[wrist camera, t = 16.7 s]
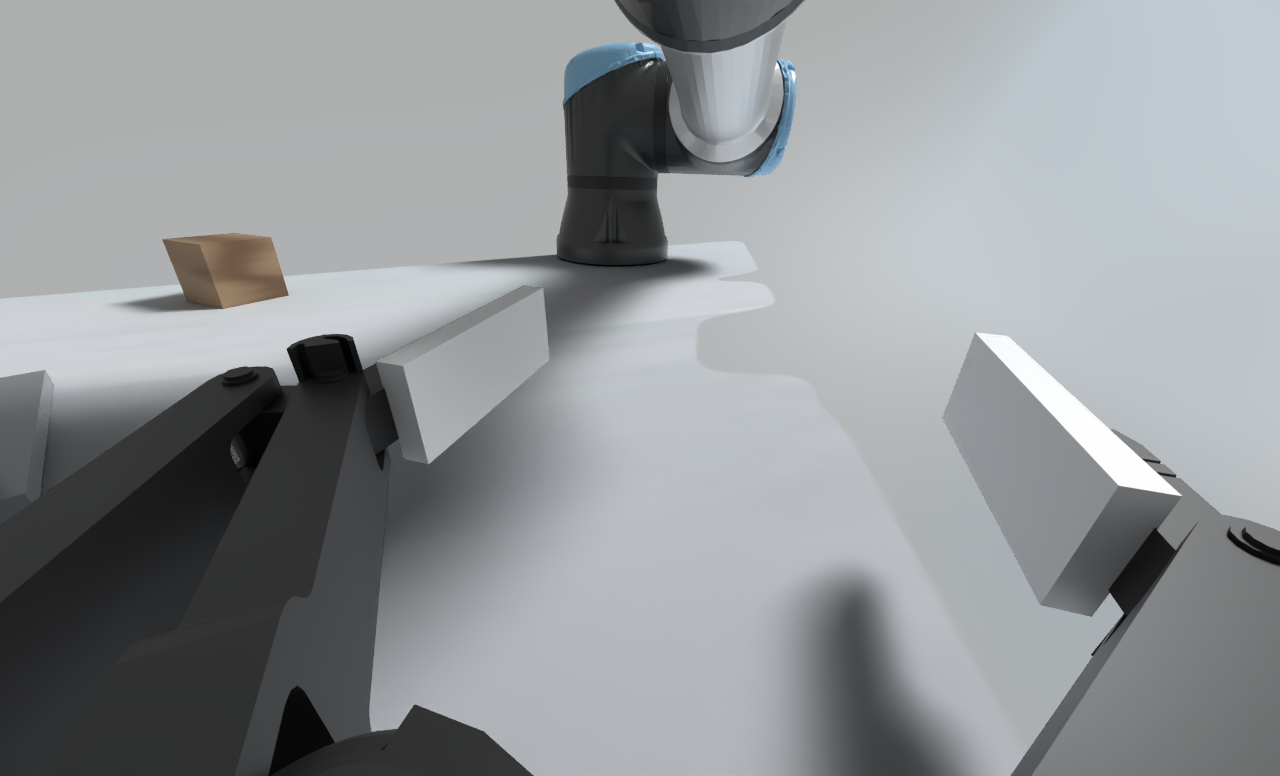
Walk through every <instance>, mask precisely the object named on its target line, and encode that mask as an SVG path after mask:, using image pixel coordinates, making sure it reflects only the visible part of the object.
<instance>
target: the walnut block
mask: <svg viewBox="0 0 1280 776" xmlns="http://www.w3.org/2000/svg"><path fill="white" fill-rule="evenodd" d="M163 242H164V245H165V247H166V250H167V252H168V255H169V257H170V259H171V262H172V265H173V267H174V269H175V272H176V274H177V277H178V279H179V282H180V284H181V287H182V289H183V292H184V294H185V297H186V299H187V301H189V302H194V303H199V304H203V305H208V306H213V307H217V308H222V309H225V308H230V307H235V306H240V305H244V304H249V303H254V302H259V301H264V300H269V299H273V298H278V297H283V296H288V291H287V288H286V285H285V282H284V278H283V275H282V272H281V269H280V265H279V262H278V259H277V255H276V252H275V249H274V246H273V243H272V239H271V237H262V236H255V235H246V234H238V233H229V234H218V235H207V236H195V237H184V238H172V239H163Z"/></svg>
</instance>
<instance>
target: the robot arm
mask: <svg viewBox="0 0 1280 776" xmlns="http://www.w3.org/2000/svg"><path fill="white" fill-rule="evenodd" d="M804 1H805V0H615V2H616V3H617V5H618V6H619V9H620V10H621V11H622V12H623V14H624V15H625V16H626V18H627V19H628V20H629V22H630V23H631V24H633V26H634V27H635V28H636V29H638V31H640V32H641V33H642V34H643V35H645V36H646V37H648V38H650V39H651V40H652V41H654V42H656V43H658V44H659V45H661V48H662V50H663V53H664V56H665V59H666V61H664V57H663V55H662V51H661V49H660V48H659V47H658V46H656V45H654V44H650V43H636V44H635V43H633V42H624V43H623V42H622V43H614V44H607V45H603V46H598V47H594V48H591V49H588V50H585V51H583V52H581V53H579V54H578V55H576V56H575V57H574V58H572V59H571V60H570V61H569V63H568V64H567V66H566V70H565V77H564V79H565V81H564V82H565V83H564V91H565V93H564V100H563V109H564V114H565V136H566V159H567V175H568V176H567V178H568V179H567V180H568V197H567V201H566V205H565V209H564V213H563V218H562V222H561V227H560V233H559V235H558V236H557V256H558V257H560V258H562V259H565V260H568V261H573V262H579V263H587V264H600V265H635V264H647V263H654V262H659V261H662V260H665V259H666V258H667V249H668V241H667V238H666V236H665V234H664V227H663V222H662V217H661V213H660V209H659V205H658V201H657V177H658V173H682V174H683V173H684V174H711V175H714V174H715V175H740V176H744V177H753V176H755V175H767V174H770V173H771V172H773V171H774V170H775V169H776V168H777V166H778V165H779V163H780V161H781V159H782V157H783V154H784V149H785V146H786V144H787V141H788V138H789V134H790V130H791V125H792V120H793V115H794V107H795V99H796V84H797V82H796V73H795V68H794V66H793V64H792V63H791V62H790V61H788V60H781V59H779V58H778V54H779V50H780V46H781V42H782V37H783V33H784V28H785V24H786V20H787V19H788V18H789V17H790V16H791V15H792V14H793V13H794V12H795V11H796V10H797V9H798V8H799V7H800V6H801V5H802V4H803V3H804ZM287 351H288V354H289V357H290V359H291V362H292V364H293V367H294V369H295V372H296V375H297V377H298V380H299V383H298V385H297V386H280V384H279V381H278V379H277V376H276V374H275V372H274V370H273V369H272V368H269V367H239V368H235V369H231V370H228V371H227V372H225V373H224V374H221V375H218V376H216V377H214V378H212V379H210V380H209V381H207V382H206V383H204V384H203V385H201V386H200V387H198V388H197V389H196V390H194V391H193V392H191V393H190V394H188V395H187V396H185V397H184V398H183V399H181V400H180V401H178V402H177V403H175V404H174V405H172V406H171V407H170V408H168V409H167V410H165V411H164V412H162V413H161V414H159V415H158V416H157V417H155V418H154V419H152V420H151V421H149V422H148V423H146V424H145V425H144V426H142V427H141V428H139V429H138V430H136V431H135V432H133V433H132V434H130V435H129V436H128V437H126V438H125V439H123V440H122V441H120V442H119V443H117V444H116V445H115V446H113V447H112V448H110V449H109V450H107V451H106V452H104V453H103V454H102V455H100V456H99V457H97V458H96V459H94V460H93V461H91V462H90V463H89V464H87V465H86V466H84V467H83V468H81V469H80V470H78V471H77V472H76V473H74V474H73V475H71V476H70V477H68V478H67V479H65V480H64V481H63V482H61V483H60V484H58V485H57V486H55V487H54V488H52V489H51V490H50V491H48V492H47V493H45V494H44V495H42V496H41V497H39V498H38V499H37V500H35V501H34V502H32V503H31V504H29V505H28V506H26V507H25V508H24V509H22V510H21V511H19V512H18V513H16V514H15V515H13V516H12V517H11V518H9V519H8V520H6V521H5V522H3V523H2V524H0V776H533V775H532V774H531V773H530V772H529V771H527V770H526V769H525V768H524V767H523V766H522V765H521V764H520V763H518V762H517V761H516V760H515V759H514V758H513V757H512V756H511V755H509V754H508V753H507V752H506V751H505V750H504V749H503V748H502V747H500V746H499V745H498V744H497V743H496V742H495V741H494V740H493V739H491V738H490V737H489V736H488V735H487V734H486V733H485V732H483V731H481V730H478V729H476V728H473V727H471V726H468V725H466V724H463V723H461V722H458V721H456V720H453V719H450V718H448V717H445V716H443V715H440V714H438V713H435V712H433V711H430V710H428V709H425V708H422V707H420V706H417V705H414V706H413V707H412V709H411V710H410V712H409V713H408V715H407V716H406V718H405V719H404V721H403V722H402V724H401V725H400V726H399V728H398V729H393V730H384V731H375V732H371V728H370V719H369V702H370V690H371V679H372V667H373V656H374V644H375V633H376V621H377V610H378V598H379V587H380V575H381V564H382V552H383V541H384V529H385V518H386V506H387V495H388V483H389V472H390V456H389V453H388V450H387V447H388V446H389V445H391V444H392V443H393V442H395V441H396V440H397V439H398V440H399V444H400V447H401V451H402V454H403V458H404V459H408V460H412V461H416V462H421V463H425V464H430V463H431V462H432V461H433V460H434V459H435V458H437V457H438V456H439V455H440V454H441V453H442V452H444V451H445V450H446V449H447V448H448V447H449V446H451V445H452V444H453V443H454V442H455V441H456V440H457V439H459V438H460V437H461V436H462V435H463V434H464V433H466V432H467V431H468V430H469V429H470V428H471V427H473V426H474V425H475V424H476V423H477V422H478V421H479V420H481V419H482V418H483V417H484V416H485V415H486V414H488V413H489V412H490V411H491V410H492V409H493V408H495V407H496V406H497V405H498V404H499V403H500V402H501V401H503V400H504V399H505V398H506V397H507V396H508V395H510V394H511V393H512V392H513V391H514V390H515V389H517V388H518V387H519V386H520V385H521V384H522V383H523V382H525V381H526V380H527V379H528V378H529V377H530V376H532V375H533V374H534V373H535V372H536V371H537V370H539V369H540V368H541V367H542V366H543V365H544V364H546V363H547V362H548V361H549V360H550V357H549V346H548V334H547V323H546V312H545V301H544V290H543V287H533V286H522V287H520V288H518V289H516V290H514V291H512V292H510V293H508V294H506V295H504V296H502V297H500V298H498V299H496V300H494V301H492V302H490V303H488V304H487V305H485V306H483V307H481V308H479V309H477V310H475V311H473V312H471V313H469V314H467V315H465V316H463V317H461V318H459V319H457V320H455V321H453V322H451V323H449V324H447V325H445V326H444V327H442V328H440V329H438V330H436V331H434V332H432V333H430V334H428V335H426V336H424V337H422V338H420V339H418V340H416V341H414V342H412V343H410V344H408V345H406V346H404V347H402V348H401V349H399V350H397V351H395V352H393V353H391V354H389V355H387V356H385V357H383V358H381V359H379V360H377V361H376V364H374V365H372V366H370V367H368V368H366V369H365V370H363V369H362V366H361V362H360V359H359V356H358V353H357V349H356V346H355V343H354V340H353V337H351V336H348V335H342V334H330V335H321V336H315V337H311V338H307V339H304V340H301V341H298V342H296V343H294V344H292V345H291V346H289V347H288V348H287ZM942 418H943V420H944V422H945V424H946V426H947V428H948V430H949V431H950V434H951V436H952V437H953V439H954V441H955V443H956V445H957V447H958V449H959V451H960V453H961V455H962V457H963V458H964V460H965V462H966V464H967V466H968V468H969V470H970V472H971V474H972V476H973V478H974V479H975V481H976V483H977V485H978V487H979V489H980V491H981V493H982V495H983V496H984V499H985V500H986V502H987V504H988V506H989V508H990V510H991V512H992V514H993V516H994V517H995V520H996V521H997V523H998V525H999V527H1000V529H1001V531H1002V533H1003V535H1004V537H1005V539H1006V541H1007V542H1008V544H1009V546H1010V548H1011V550H1012V552H1013V554H1014V556H1015V558H1016V560H1017V562H1018V563H1019V565H1020V567H1021V569H1022V571H1023V573H1024V575H1025V577H1026V579H1027V580H1028V582H1029V584H1030V586H1031V588H1032V590H1033V592H1034V594H1035V596H1036V598H1037V600H1038V602H1039V603H1040V605H1043V606H1048V607H1052V608H1056V609H1060V610H1065V611H1069V612H1074V613H1078V614H1082V615H1087V616H1091V617H1092V616H1093V614H1094V613H1095V611H1096V610H1097V609H1098V608H1099V606H1100V605H1101V604H1102V602H1103V601H1104V600H1105V598H1106V597H1107V596H1108V594H1109V593H1111V595H1112V596H1113V598H1114V599H1115V600H1116V602H1117V603H1118V605H1119V606H1120V608H1121V609H1122V611H1123V612H1124V614H1123V616H1122V617H1121V618H1120V620H1119V621H1118V622H1117V623H1116V624H1115V626H1114V627H1113V628H1112V629H1111V631H1110V632H1109V633H1108V634H1107V636H1106V637H1105V638H1104V639H1103V641H1102V642H1101V643H1100V644H1099V646H1098V647H1097V648H1096V649H1095V651H1094V652H1093V653H1092V654H1091V655H1092V656H1093V657H1092V659H1091V660H1090V662H1089V663H1088V664H1087V666H1086V667H1085V669H1084V670H1083V672H1082V673H1081V675H1080V676H1079V677H1078V679H1077V680H1076V682H1075V683H1074V685H1073V686H1072V688H1071V689H1070V690H1069V692H1068V694H1067V695H1066V696H1065V698H1064V699H1063V701H1062V702H1061V704H1060V705H1059V707H1058V708H1057V709H1056V711H1055V712H1054V714H1053V715H1052V717H1051V718H1050V719H1049V721H1048V722H1047V724H1046V725H1045V727H1044V728H1043V730H1042V731H1041V733H1040V734H1039V735H1038V737H1037V738H1036V740H1035V741H1034V743H1033V744H1032V746H1031V747H1030V748H1029V750H1028V751H1027V753H1026V754H1025V756H1024V757H1023V759H1022V760H1021V762H1020V763H1019V764H1018V766H1017V767H1016V769H1015V770H1014V772H1013V773H1012V775H1011V776H1280V531H1277V530H1275V529H1272V528H1270V527H1267V526H1264V525H1261V524H1258V523H1255V522H1252V521H1249V520H1245V519H1241V518H1236V517H1231V516H1227V515H1221V514H1220V513H1219V512H1218V511H1217V510H1216V509H1215V508H1213V507H1212V506H1211V505H1210V504H1209V503H1208V502H1207V501H1205V500H1204V499H1203V498H1202V497H1201V496H1200V495H1199V494H1197V493H1196V492H1195V491H1194V490H1193V489H1192V488H1191V487H1189V486H1188V485H1187V484H1186V483H1185V482H1184V481H1183V480H1181V479H1180V478H1176V474H1175V473H1173V472H1172V471H1171V470H1170V469H1169V468H1168V467H1166V466H1165V465H1164V464H1160V462H1161V461H1160V460H1159V459H1157V458H1156V457H1155V456H1154V455H1153V454H1152V453H1151V452H1149V451H1148V450H1147V449H1146V448H1145V447H1144V446H1143V445H1141V444H1139V443H1137V442H1136V441H1134V440H1132V439H1130V438H1129V437H1127V436H1125V435H1123V434H1121V433H1120V432H1118V431H1116V430H1113V429H1109V428H1107V427H1106V426H1105V425H1104V424H1103V423H1102V422H1101V421H1100V420H1099V419H1097V417H1095V416H1094V415H1093V414H1092V413H1091V412H1090V411H1089V410H1088V409H1087V408H1086V407H1085V406H1083V405H1082V404H1081V403H1080V402H1079V401H1078V400H1077V399H1076V398H1075V397H1074V396H1073V395H1071V394H1070V393H1069V392H1068V391H1067V390H1066V389H1065V388H1064V387H1063V386H1062V385H1061V384H1059V383H1058V382H1057V381H1056V380H1055V379H1054V378H1053V377H1052V376H1051V375H1050V374H1048V373H1047V372H1046V371H1045V370H1044V369H1043V368H1042V367H1041V366H1040V365H1039V364H1037V362H1035V361H1034V360H1033V359H1032V358H1031V357H1030V356H1029V355H1028V354H1027V353H1026V352H1025V351H1023V350H1022V349H1021V348H1020V347H1019V346H1018V345H1017V344H1016V343H1015V342H1014V341H1013V340H1011V339H1010V338H1009V337H1008V336H1003V335H993V334H984V333H975V334H974V337H973V340H972V342H971V345H970V348H969V350H968V353H967V355H966V358H965V361H964V363H963V366H962V368H961V371H960V373H959V376H958V379H957V381H956V384H955V386H954V389H953V392H952V394H951V397H950V399H949V402H948V405H947V407H946V410H945V412H944V415H943V417H942ZM231 443H232V445H233V447H234V449H235V451H236V453H237V455H238V457H239V459H240V461H239V462H238V463H237V464H236V465H235V463H234V461H233V459H232V456H231V452H230V447H231Z"/></svg>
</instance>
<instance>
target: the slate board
mask: <svg viewBox="0 0 1280 776" xmlns="http://www.w3.org/2000/svg"><path fill="white" fill-rule="evenodd" d="M52 393H53V383H52V381H51V379H50V378H49V376H48V374H47V372H46V371H45V370H43V371H37V372H31V373H26V374H20V375H14V376H9V377H3V378H0V524H2V523H3V522H5V521H6V520H8V519H9V518H11V517H12V516H13V515H15V514H16V513H18V512H19V511H21V510H22V509H24V508H25V507H26V506H28V505H29V504H31V503H32V502H34V501H35V500H37V499H38V498H39V497H40V494H41V486H42V477H43V469H44V460H45V452H46V444H47V435H48V427H49V418H50V410H51V401H52Z"/></svg>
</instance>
